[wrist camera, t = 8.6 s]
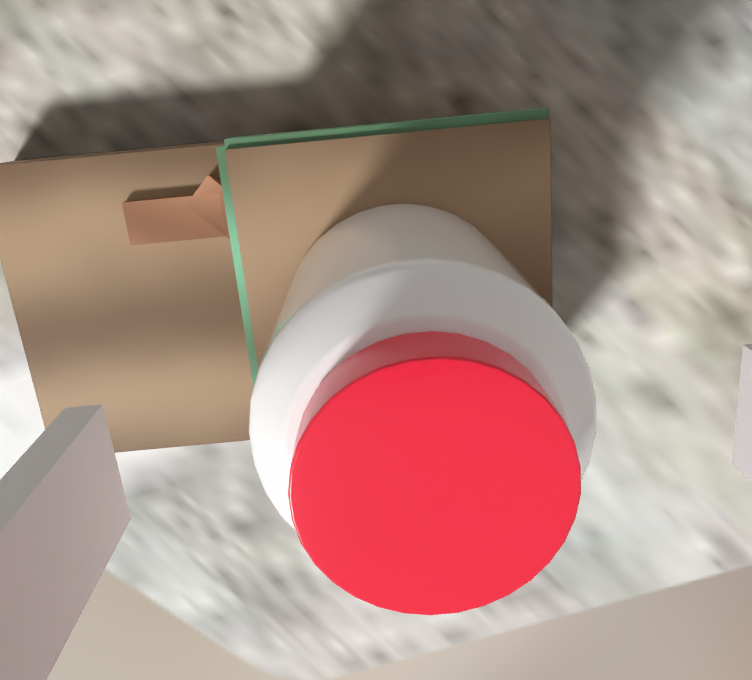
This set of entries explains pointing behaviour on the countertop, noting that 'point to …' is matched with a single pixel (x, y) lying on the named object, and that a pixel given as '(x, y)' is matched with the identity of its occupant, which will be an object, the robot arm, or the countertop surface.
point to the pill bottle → (421, 414)
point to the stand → (230, 253)
